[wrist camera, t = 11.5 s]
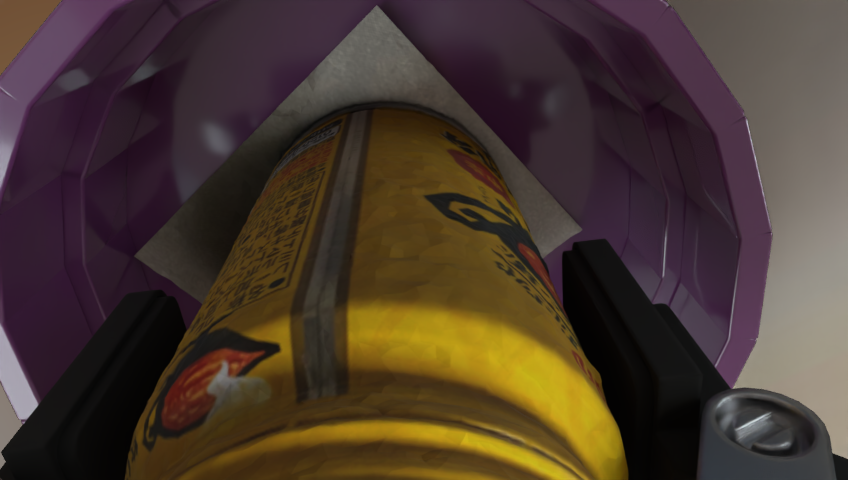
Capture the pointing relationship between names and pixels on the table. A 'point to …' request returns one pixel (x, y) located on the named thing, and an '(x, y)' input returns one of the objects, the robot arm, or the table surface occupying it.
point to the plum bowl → (287, 68)
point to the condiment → (373, 297)
